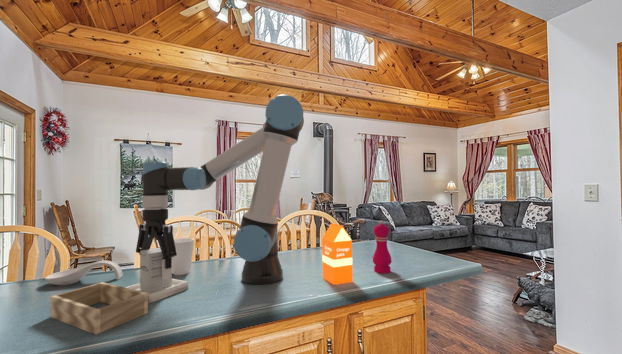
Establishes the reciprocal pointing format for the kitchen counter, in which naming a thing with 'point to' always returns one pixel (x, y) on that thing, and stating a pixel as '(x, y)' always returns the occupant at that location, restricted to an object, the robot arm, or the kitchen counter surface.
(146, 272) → the supplement box
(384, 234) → the pepper mill
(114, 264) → the spoon rest
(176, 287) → the tray
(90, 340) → the kitchen counter surface
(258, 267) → the robot arm
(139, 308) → the crate
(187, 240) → the foam cup
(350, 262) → the orange juice
